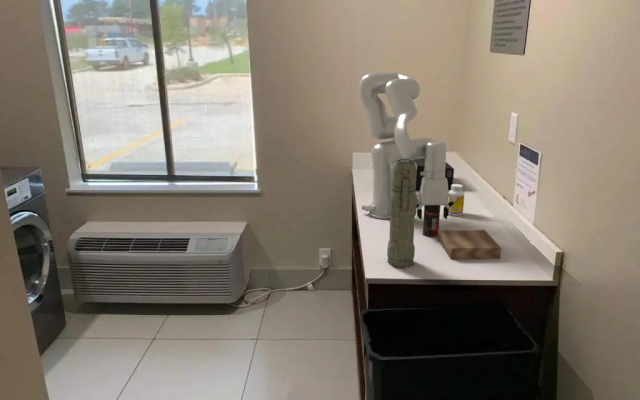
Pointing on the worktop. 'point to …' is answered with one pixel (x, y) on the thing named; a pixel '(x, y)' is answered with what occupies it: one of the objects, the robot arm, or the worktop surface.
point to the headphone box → (421, 166)
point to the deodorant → (431, 220)
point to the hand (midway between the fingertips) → (432, 218)
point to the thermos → (402, 214)
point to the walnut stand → (469, 244)
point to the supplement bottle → (459, 203)
